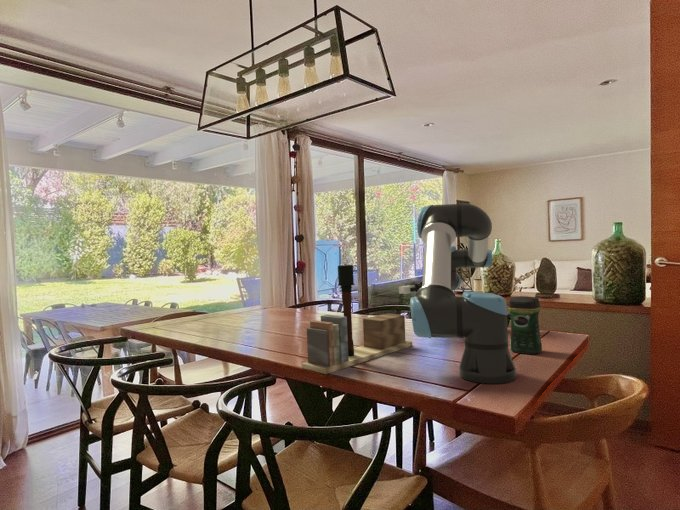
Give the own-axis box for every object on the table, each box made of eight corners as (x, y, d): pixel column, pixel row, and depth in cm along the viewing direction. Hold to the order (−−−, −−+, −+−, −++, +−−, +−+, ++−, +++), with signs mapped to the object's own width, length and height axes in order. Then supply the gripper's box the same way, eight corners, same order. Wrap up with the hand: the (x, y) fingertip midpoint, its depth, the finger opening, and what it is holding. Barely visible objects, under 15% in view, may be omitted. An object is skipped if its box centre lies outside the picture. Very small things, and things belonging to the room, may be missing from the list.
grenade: (360, 353, 149) (356, 264, 148) (353, 357, 144) (349, 265, 143) (345, 352, 151) (341, 265, 151) (337, 356, 146) (333, 266, 146)
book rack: (388, 341, 171) (387, 302, 171) (412, 345, 164) (410, 303, 163) (301, 368, 140) (299, 319, 140) (325, 374, 132) (323, 322, 132)
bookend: (388, 339, 169) (387, 313, 169) (405, 342, 163) (404, 315, 163) (364, 346, 159) (362, 318, 159) (381, 349, 153) (380, 321, 153)
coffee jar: (544, 350, 149) (542, 295, 148) (537, 356, 142) (535, 298, 142) (515, 347, 155) (513, 294, 154) (507, 352, 149) (505, 297, 148)
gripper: (451, 294, 180) (418, 301, 164) (421, 292, 191) (387, 299, 174) (450, 275, 180) (417, 281, 163) (421, 275, 190) (386, 280, 174)
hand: (402, 290), depth 169 cm, fingers closed
